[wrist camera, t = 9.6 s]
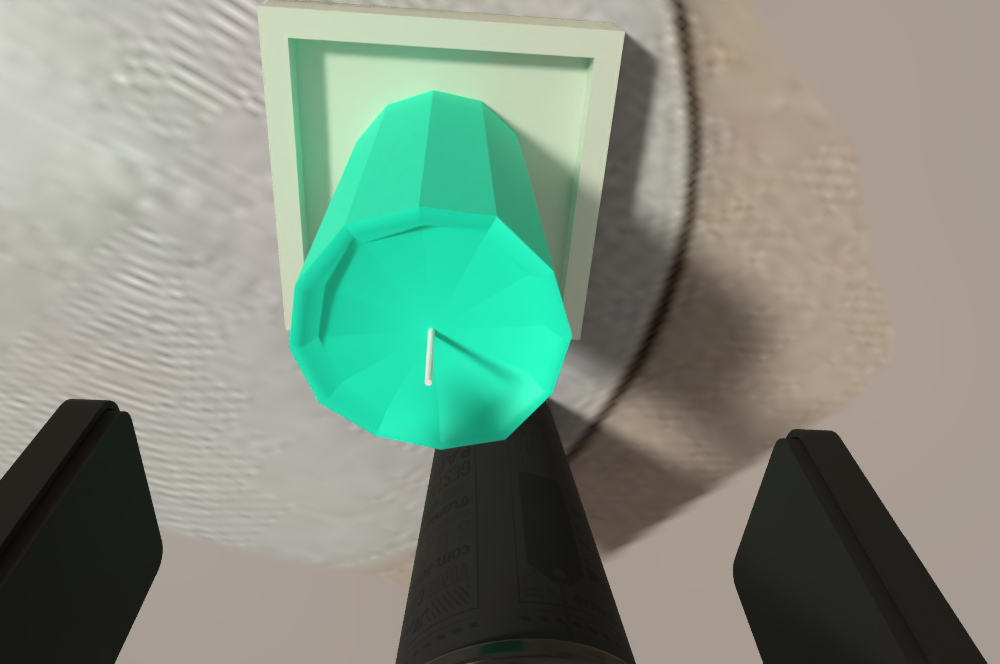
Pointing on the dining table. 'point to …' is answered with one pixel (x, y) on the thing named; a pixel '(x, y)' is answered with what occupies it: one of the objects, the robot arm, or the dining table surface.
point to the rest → (451, 69)
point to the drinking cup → (509, 561)
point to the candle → (432, 282)
